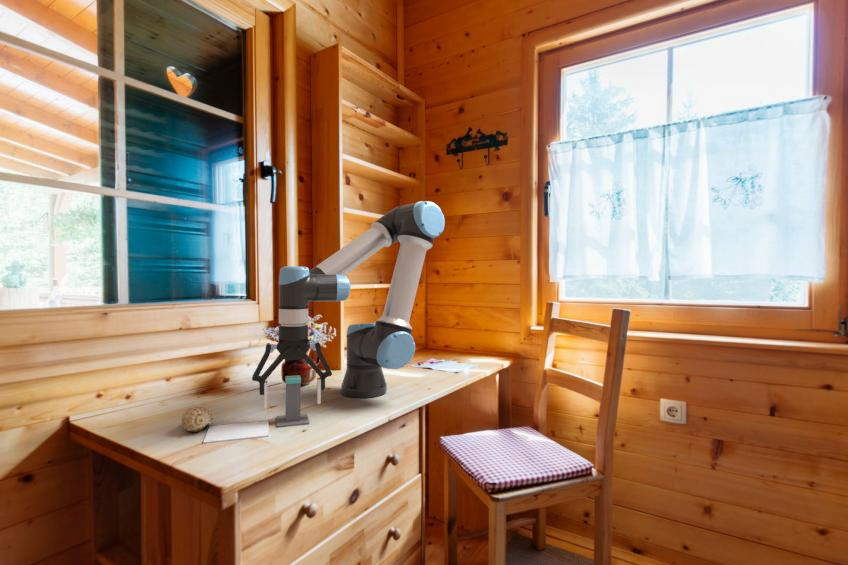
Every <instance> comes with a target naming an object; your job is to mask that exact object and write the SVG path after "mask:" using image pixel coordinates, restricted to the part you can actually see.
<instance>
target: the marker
mask: <svg viewBox="0 0 848 565" xmlns="http://www.w3.org/2000/svg"><path fill="white" fill-rule="evenodd" d="M284 379H285V404H284V405H285V408H284V409H285V410H284V411H285V419H286V422H294V421H300V414H301V395H302V394H301V391H302V390H301V386H302V384H301V383H302V377H301V375H297V374H296V375H285V378H284Z"/></svg>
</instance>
